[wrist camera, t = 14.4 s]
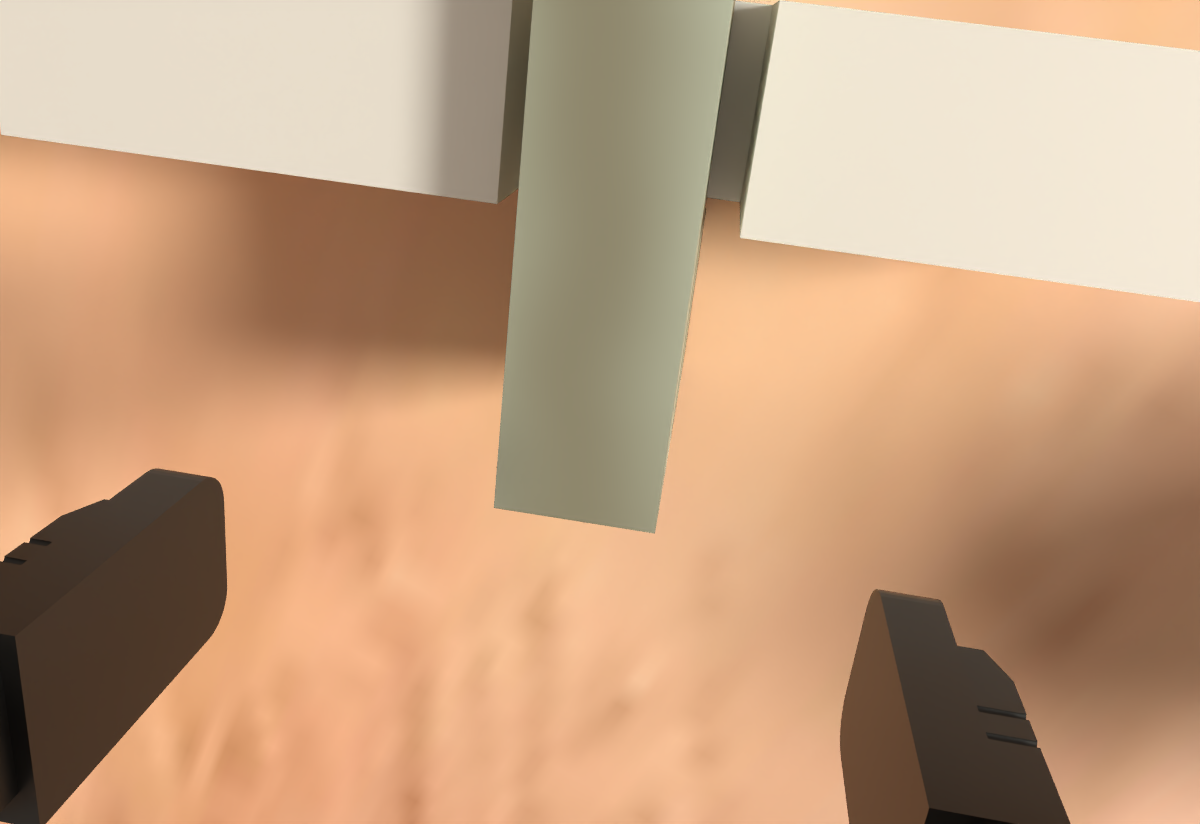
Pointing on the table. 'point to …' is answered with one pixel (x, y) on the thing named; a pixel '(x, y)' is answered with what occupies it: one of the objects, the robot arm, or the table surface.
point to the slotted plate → (606, 251)
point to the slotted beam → (743, 137)
